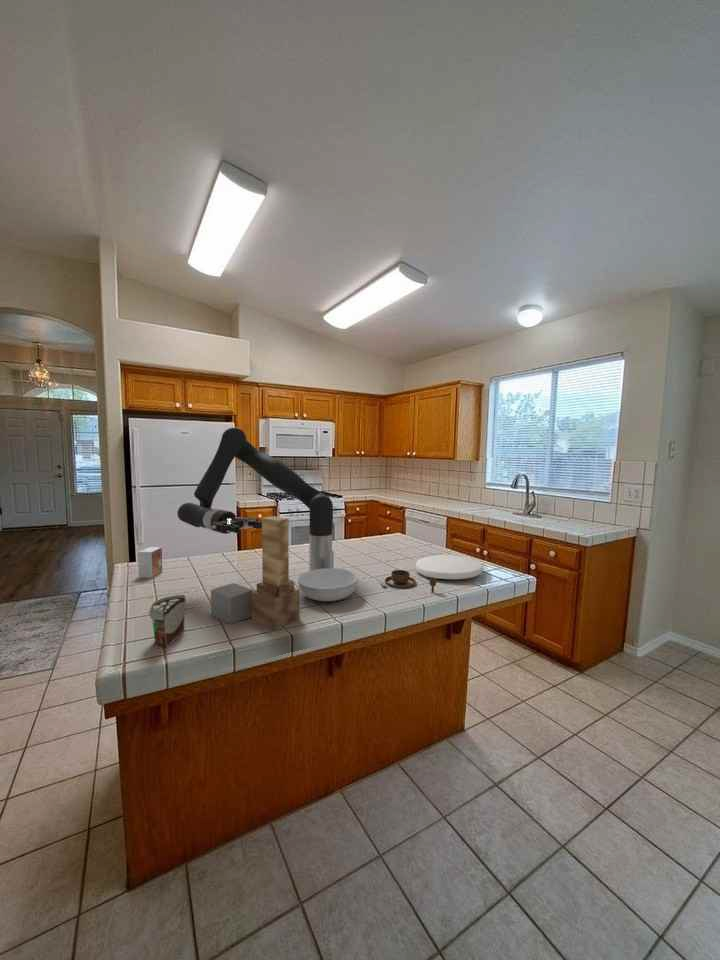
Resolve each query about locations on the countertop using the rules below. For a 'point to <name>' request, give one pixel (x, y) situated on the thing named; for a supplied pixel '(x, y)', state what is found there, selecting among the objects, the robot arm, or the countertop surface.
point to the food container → (168, 619)
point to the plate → (449, 567)
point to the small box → (150, 562)
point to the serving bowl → (327, 584)
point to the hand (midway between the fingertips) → (250, 527)
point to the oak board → (275, 551)
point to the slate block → (231, 603)
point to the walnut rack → (274, 605)
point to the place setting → (404, 580)
